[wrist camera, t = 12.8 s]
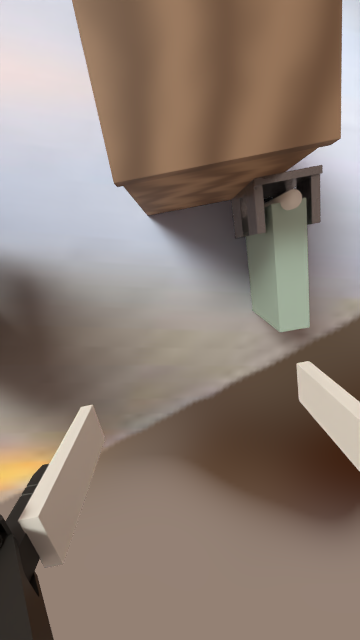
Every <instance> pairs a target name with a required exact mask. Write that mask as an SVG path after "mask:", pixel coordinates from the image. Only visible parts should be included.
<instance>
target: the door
mask: <svg viewBox="0 0 360 640" xmlns="http://www.w3.org/2000/svg"><path fill="white" fill-rule="evenodd" d="M264 213H265V227H266V233H261V234H255V235H250V236H245V237H246V247H247V258H248V268H249V279H250V289H251V300H252V310H253V311H254V312H255V313H256V314H257V315H259V316H260V317H261V318H262V319H264V320H265V321H266V322H268V323H269V324H270V325H271V326H273V327H274V328H275V329H276V330H278V331H279V332H285V331H290V330H296V329H302V328H308V327H310V321H309V282H308V244H307V206H306V198H302V195H301V193H300V191H298V190H296V189H292V190H289V191H288V192H286V193H284V194H282V195H280V196H278V197H276V198H274V199H272V200H270V201H268V202H267V203H265V204H264Z"/></svg>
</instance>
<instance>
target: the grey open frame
mask: <svg viewBox="0 0 360 640" xmlns="http://www.w3.org/2000/svg"><path fill="white" fill-rule="evenodd" d="M321 173H322V165H319V166H314V167H309V168H304V169H299V170H294V171H289V172H284V173H278V174H273V175H268V176H263V177H258V178H254V179H253V180H252V181H251V182H250V183H249V184H248V185H247V186H245V187H244V188H243V189H242V190H241V191H240V192H239V193H238V194H237V195H236V196H235V197H233V198H232V199H231V203H232V213H233V222H234V231H235V238H240V237H245V236H250V235H255V234H261V233H266V227H265V213H264V199H266V198H271V197H272V199H274V198H276V197H278V196H280V195H282V194H284V193H286V192H288V191H289V190H292V189H293V188H295V187H297V190H298V191H300V193H301V195H302V198H306V206H307V225H309V224H314V223H319V222H320V174H321Z"/></svg>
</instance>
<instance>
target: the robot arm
mask: <svg viewBox="0 0 360 640" xmlns="http://www.w3.org/2000/svg"><path fill="white" fill-rule="evenodd" d="M297 376H298V393H299V401H300V402H301V403H302V404H303V406H304V407H305V408H306V409H307V410H308V411H309V413H310V414H311V415H312V416H313V417H314V419H315V420H316V421H317V422H318V423H319V424H320V425H321V427H322V428H323V429H324V430H325V431H326V433H327V434H328V435H329V436H330V437H331V438H332V440H333V441H334V442H335V443H336V444H337V445H338V446H339V448H340V449H341V450H342V451H343V452H344V454H345V455H346V456H347V457H348V458H349V460H350V461H351V462H352V463H353V464H354V465H355V466H356V468H357V469H358V470H359V471H360V402H359V401H358V400H356V399H355V398H354V397H353V396H351V395H350V394H349V393H348V392H346V391H345V390H344V389H343V388H341V387H340V386H339V385H338V384H336V383H335V382H334V381H333V380H331V379H330V378H329V377H328V376H327V375H325V374H324V373H323V372H322V371H320V370H319V369H318V368H317V367H315V366H314V365H313V364H312V363H310V362H309V361H307V362H301V363H297ZM104 441H105V437H104V434H103V431H102V429H101V426H100V423H99V420H98V418H97V415H96V412H95V409H94V407H93V405H88V406H83V407H81V408H80V410H79V412H78V413H77V415H76V417H75V419H74V421H73V422H72V424H71V426H70V428H69V430H68V431H67V433H66V435H65V437H64V439H63V440H62V442H61V444H60V446H59V448H58V449H57V451H56V453H55V455H54V457H53V458H52V460H51V462H50V464H46V465H42V466H41V467H40V468H39V469H38V471H37V472H36V473H35V474H34V475H33V476H32V478H31V480H30V481H29V483H28V485H27V487H26V488H25V490H24V491H23V493H22V496H21V497H20V498H19V500H18V501H17V503H16V505H15V506H14V508H13V510H12V511H11V513H10V515H9V517H8V518H7V520H6V521H5V520H4V519H3V517H2V515H0V640H54V639H53V635H52V631H51V627H50V624H49V620H48V616H47V612H46V608H45V604H44V600H43V596H42V592H41V588H40V584H39V581H38V576H37V574H36V573H35V568H36V566H37V563H38V561H39V559H40V560H41V562H42V564H43V566H44V567H45V568H47V567H52V566H58V565H63V564H64V561H65V558H66V555H67V552H68V549H69V546H70V543H71V540H72V537H73V534H74V531H75V528H76V525H77V522H78V519H79V516H80V513H81V510H82V507H83V504H84V501H85V498H86V495H87V492H88V489H89V486H90V483H91V480H92V477H93V474H94V471H95V468H96V465H97V462H98V459H99V456H100V453H101V450H102V447H103V444H104Z"/></svg>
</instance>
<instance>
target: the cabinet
mask: <svg viewBox="0 0 360 640" xmlns="http://www.w3.org/2000/svg"><path fill="white" fill-rule="evenodd" d="M72 2H73V7H74V11H75V16H76V20H77V24H78V29H79V33H80V37H81V42H82V46H83V50H84V55H85V59H86V64H87V68H88V72H89V77H90V81H91V85H92V90H93V94H94V98H95V103H96V107H97V111H98V116H99V120H100V125H101V129H102V133H103V138H104V142H105V146H106V151H107V155H108V159H109V164H110V168H111V173H112V177H113V181H114V184H115V185H116V186H117V187H120V186H124V188H125V189H126V190H127V191H128V192H129V194H130V195H131V196H132V197H133V198H134V200H135V201H136V202H137V203H138V205H139V206H140V207H141V208H142V209H143V211H144V212H145V213H146V214H147V215H154V214H159V213H164V212H169V211H174V210H180V209H185V208H190V207H195V206H201V205H206V204H211V203H216V202H221V201H227V200H231V199H232V198H233V197H235V196H236V195H237V194H238V193H239V192H240V191H241V190H242V189H243V188H244V187H245V186H247V185H248V184H249V183H250V182H251V181H252V180H253V179H254V178H258V177H263V176H268V175H273V174H278V173H284V172H285V171H287V170H288V169H289V168H291V167H292V166H294V165H295V164H296V163H298V162H299V161H300V160H302V159H303V158H305V157H306V156H307V155H309V154H310V153H312V152H313V151H314V150H316V149H317V148H319V147H323V146H328V145H331V144H333V143H334V142H336V141H337V140H339V139H340V138H341V52H342V0H72Z"/></svg>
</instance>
